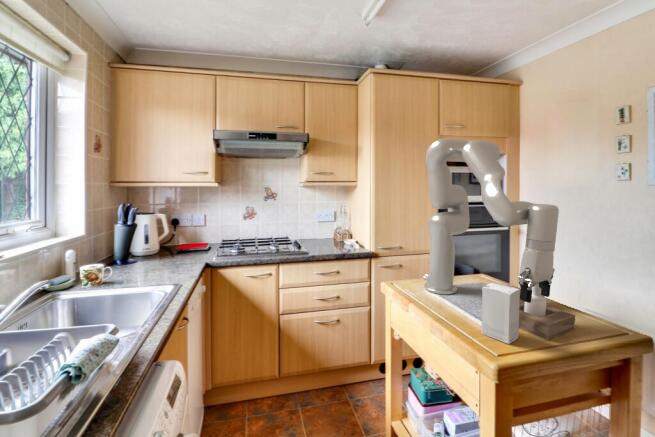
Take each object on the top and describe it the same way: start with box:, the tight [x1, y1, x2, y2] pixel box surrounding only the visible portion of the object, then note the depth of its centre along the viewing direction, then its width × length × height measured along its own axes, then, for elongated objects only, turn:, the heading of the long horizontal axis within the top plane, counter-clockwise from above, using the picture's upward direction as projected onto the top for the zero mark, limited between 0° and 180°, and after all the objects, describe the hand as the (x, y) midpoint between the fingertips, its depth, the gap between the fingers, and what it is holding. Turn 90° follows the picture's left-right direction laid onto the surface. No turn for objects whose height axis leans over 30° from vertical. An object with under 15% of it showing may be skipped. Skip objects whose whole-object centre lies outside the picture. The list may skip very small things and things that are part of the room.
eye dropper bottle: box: [524, 283, 547, 318], centre depth 101 cm, size 4×6×12 cm
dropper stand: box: [519, 298, 576, 341], centre depth 102 cm, size 16×14×4 cm
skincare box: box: [481, 282, 521, 345], centre depth 93 cm, size 8×6×15 cm
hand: (534, 298), depth 101 cm, fingers open, 9 cm apart
